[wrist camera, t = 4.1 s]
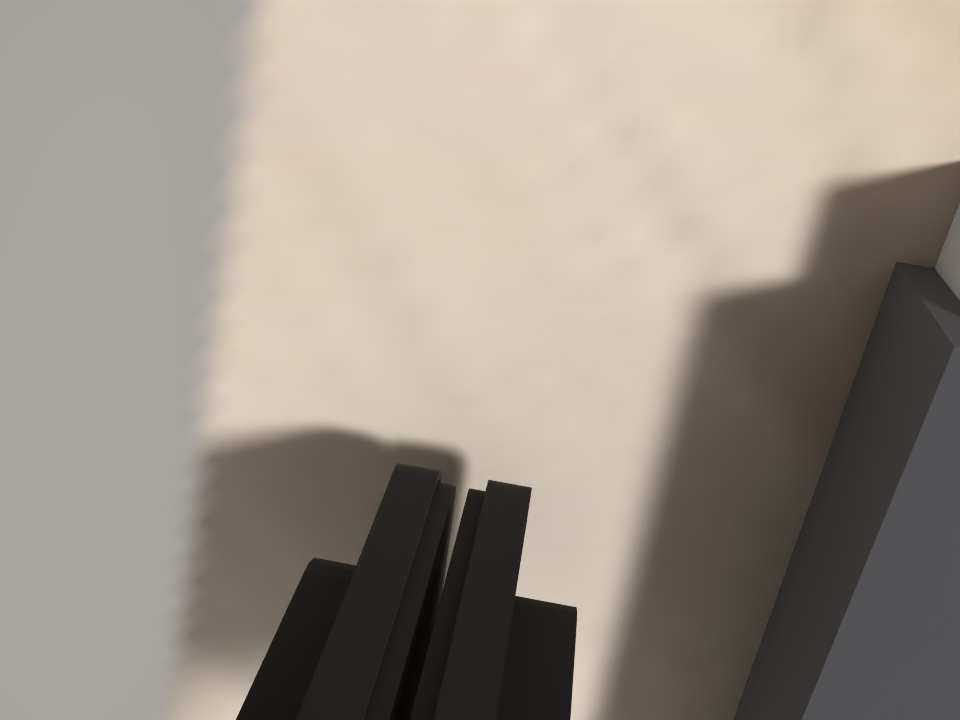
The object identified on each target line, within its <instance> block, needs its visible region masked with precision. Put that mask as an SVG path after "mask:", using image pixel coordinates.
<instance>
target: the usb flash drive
mask: <svg viewBox="0 0 960 720" xmlns="http://www.w3.org/2000/svg"><path fill="white" fill-rule="evenodd" d="M734 720H960V203H959V205H958V208H957V211H956V213H955V216H954V219H953V221H952V224H951V227H950V229H949V232H948V235H947V237H946V240H945V242H944V245H943V248H942V250H941V253H940V256H939V258H938V261H937V264H936V266H935V268H929V267H923V266H916V265H910V264H903V263H897V262H896V265H895V268H894V270H893V273H892V276H891V279H890V282H889V284H888V287H887V290H886V293H885V296H884V298H883V301H882V304H881V307H880V310H879V313H878V315H877V318H876V321H875V324H874V327H873V329H872V332H871V335H870V338H869V341H868V343H867V346H866V349H865V352H864V355H863V357H862V360H861V363H860V366H859V369H858V371H857V374H856V377H855V380H854V383H853V386H852V388H851V391H850V394H849V397H848V400H847V402H846V405H845V408H844V411H843V414H842V416H841V419H840V422H839V425H838V428H837V430H836V433H835V436H834V439H833V442H832V444H831V447H830V450H829V453H828V456H827V458H826V461H825V464H824V467H823V470H822V473H821V475H820V478H819V481H818V484H817V487H816V489H815V492H814V495H813V498H812V501H811V503H810V506H809V509H808V512H807V515H806V517H805V520H804V523H803V526H802V529H801V531H800V534H799V537H798V540H797V543H796V546H795V548H794V551H793V554H792V557H791V560H790V562H789V565H788V568H787V571H786V574H785V576H784V579H783V582H782V585H781V588H780V590H779V593H778V596H777V599H776V602H775V604H774V607H773V610H772V613H771V616H770V618H769V621H768V624H767V627H766V630H765V633H764V635H763V638H762V641H761V644H760V647H759V649H758V652H757V655H756V658H755V661H754V663H753V666H752V669H751V672H750V675H749V677H748V680H747V683H746V686H745V689H744V691H743V694H742V697H741V700H740V703H739V706H738V708H737V711H736V714H735V717H734Z"/></svg>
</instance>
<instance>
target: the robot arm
mask: <svg viewBox="0 0 960 720" xmlns="http://www.w3.org/2000/svg"><path fill="white" fill-rule="evenodd" d="M531 490H532V488H530V487H525V486H519V485H514V484H508V483H503V482H497V481H492V480H488V484H487V488H486V491H480V490H475V489H469V491H468V494H467V498H466V502H465V506H464V510H463V514H462V518H461V521H460V525H459V529H458V533H457V537H456V541H455V545H454V549H453V553H452V557H451V560H450V564H449V568H448V572H447V576H446V580H445V584H444V577H445V569H446V561H447V554H448V546H449V538H450V531H451V523H452V515H453V507H454V500H455V491H456V486H453V485H447V484H442V483H441V471H436V470H431V469H425V468H420V467H414V466H409V465H403V464H397V465H396V467H395V469H394V471H393V473H392V476H391V479H390V481H389V484H388V486H387V489H386V491H385V494H384V496H383V499H382V502H381V504H380V507H379V509H378V512H377V514H376V517H375V519H374V522H373V525H372V527H371V530H370V532H369V535H368V537H367V540H366V543H365V545H364V548H363V550H362V553H361V555H360V558H359V560H358V563H357V566H354V565H349V564H344V563H339V562H333V561H328V560H323V559H317V558H313V559H312V560H311V561H310V562H309V564H308V566H307V568H306V570H305V571H304V574H303V576H302V578H301V580H300V582H299V584H298V587H297V589H296V591H295V593H294V595H293V597H292V600H291V602H290V604H289V606H288V608H287V610H286V613H285V615H284V617H283V619H282V621H281V623H280V626H279V628H278V630H277V632H276V634H275V636H274V639H273V641H272V643H271V645H270V647H269V649H268V652H267V654H266V656H265V658H264V660H263V662H262V665H261V667H260V669H259V671H258V673H257V675H256V677H255V680H254V682H253V684H252V686H251V688H250V690H249V693H248V695H247V697H246V699H245V701H244V703H243V706H242V708H241V710H240V712H239V714H238V716H237V719H236V720H570V716H571V701H572V686H573V671H574V656H575V641H576V625H577V608H576V607H571V606H566V605H561V604H555V603H550V602H545V601H540V600H534V599H529V598H524V597H518V596H515V594H516V587H517V581H518V574H519V568H520V561H521V555H522V548H523V542H524V535H525V529H526V522H527V516H528V509H529V503H530V496H531ZM443 584H444V588H443Z"/></svg>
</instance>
